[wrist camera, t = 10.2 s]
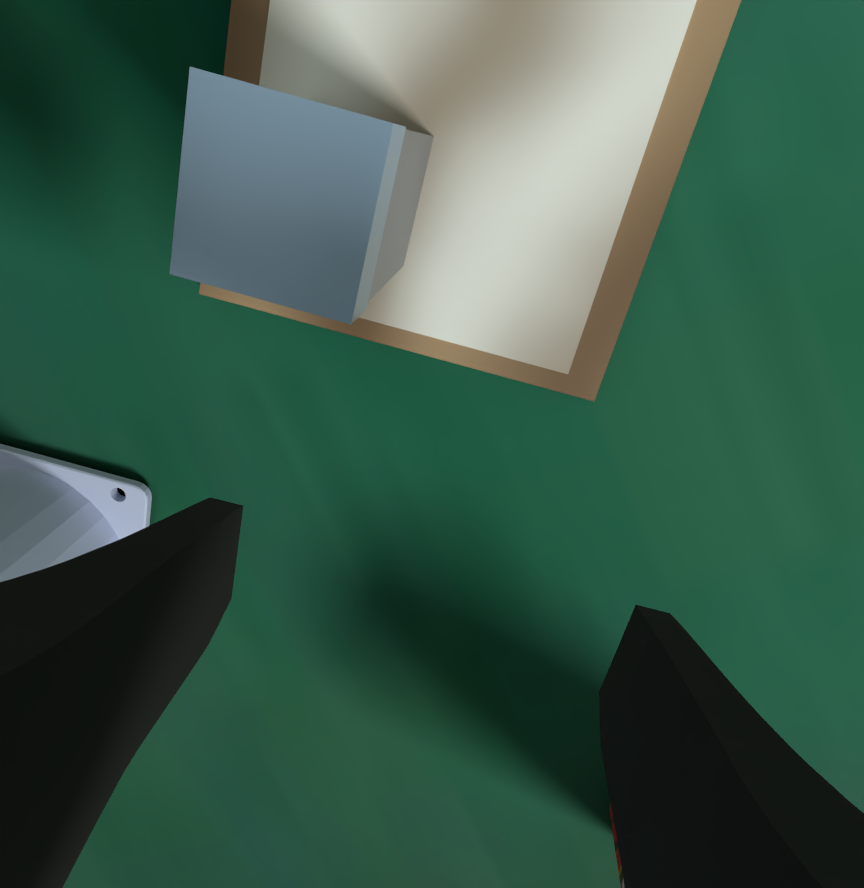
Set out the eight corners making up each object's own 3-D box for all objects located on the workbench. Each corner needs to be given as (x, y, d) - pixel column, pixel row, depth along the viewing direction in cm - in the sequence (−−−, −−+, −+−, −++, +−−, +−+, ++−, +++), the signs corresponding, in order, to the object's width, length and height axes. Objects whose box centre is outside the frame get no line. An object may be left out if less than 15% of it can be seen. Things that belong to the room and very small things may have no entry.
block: (283, 234, 19) (169, 273, 13) (305, 98, 18) (189, 66, 11) (405, 268, 19) (351, 324, 13) (436, 135, 18) (393, 123, 11)
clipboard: (207, 290, 21) (182, 301, 19) (292, -455, 14) (266, -529, 13) (592, 394, 21) (598, 414, 19) (847, -305, 14) (887, -361, 13)
